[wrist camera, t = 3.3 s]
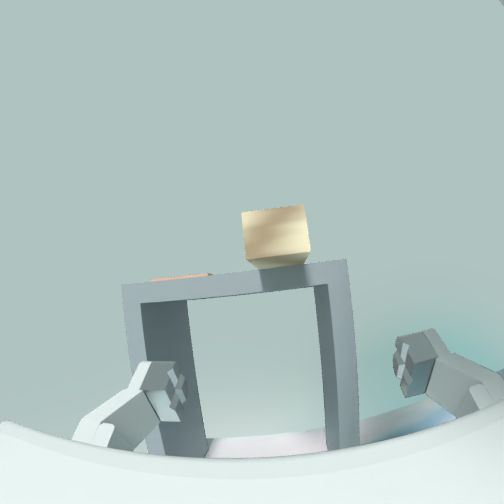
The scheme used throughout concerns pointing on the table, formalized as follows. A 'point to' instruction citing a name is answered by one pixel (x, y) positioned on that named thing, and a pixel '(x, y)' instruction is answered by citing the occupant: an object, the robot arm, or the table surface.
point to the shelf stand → (232, 284)
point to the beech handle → (276, 237)
